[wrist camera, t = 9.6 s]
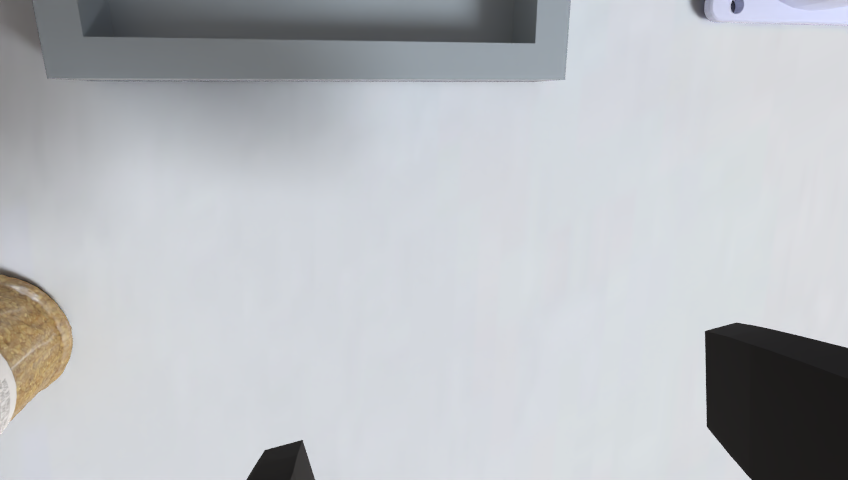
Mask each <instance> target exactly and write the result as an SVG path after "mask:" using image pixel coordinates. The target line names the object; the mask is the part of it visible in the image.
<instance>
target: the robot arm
mask: <svg viewBox="0 0 848 480" xmlns="http://www.w3.org/2000/svg"><path fill="white" fill-rule="evenodd" d="M732 1H734V2H735V7H736V8H735V11H734V12H733V13H732V11H731V7H730V5H731V3H732ZM704 13H705V15H706V18H707V19H708V20H710V21H712V22H719V23H760V24H802V25H844V26H848V0H705V5H704ZM705 349H706V402H707V427H708V429H709V430H710V431H711V432H712V433H713V435H714V436H715V437H716V438H717V440H718V441H719V442H720V443H721V445H722V446H723V447H724V448H725V450H726V451H727V452H728V453H729V454H730V456H731V457H732V458H733V459H734V460H735V461H736V462H737V464H738V465H739V466H740V467H741V468H742V469H743V471H744V472H745V473H746V474H747V475H748V476H749V477H750V478H751V479H752V480H848V348H846V347H842V346H838V345H834V344H830V343H826V342H822V341H818V340H814V339H810V338H806V337H802V336H798V335H793V334H789V333H785V332H781V331H776V330H772V329H767V328H763V327H758V326H753V325H747V324H741V323H733V324H730V325H726V326H722V327H719V328H715V329H711V330H707V331H705ZM247 480H315V479H314V475H313V472H312V469H311V466H310V463H309V459H308V456H307V453H306V450H305V446H304V443H303V440H301V441H297V442H294V443H290V444H286V445H283V446H279V447H275V448H271V449H268V450H265V451H264V453H263V454H262V456H261V457H260V459H259V460H258V462H257V463H256V465H255V467H254V468H253V470H252V472H251V473H250V475H249V477H248V478H247Z"/></svg>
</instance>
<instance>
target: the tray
mask: <svg viewBox="0 0 848 480" xmlns="http://www.w3.org/2000/svg"><path fill="white" fill-rule="evenodd" d="M32 2H33V8H34V13H35V18H36V23H37V28H38V33H39V38H40V43H41V48H42V53H43V58H44V64H45V69H46V74H47V78H53V79H70V80H87V81H420V82H537V81H552V80H565V72H566V58H567V44H568V30H569V16H570V2H571V0H32Z"/></svg>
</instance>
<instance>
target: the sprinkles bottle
mask: <svg viewBox="0 0 848 480" xmlns="http://www.w3.org/2000/svg"><path fill="white" fill-rule="evenodd" d="M72 344H73V338H72V332H71V326H70V324H69V322H68V320H67V318H66V316H65V314H64V313H63V312H62V310H61V309H60V308H59V306H58V305H57V303H56V302H55V301H54V300H52V299H51V298H50V297H49V296H48V295H47V294H46V293H44V292H43V291H42V290H40V289H39V288H38V287H36V286H33V285H31V284H29V283H27V282H25V281H23V280H19V279H17V278H11V277H7V276H5V275H0V434H1V433H2V432H3V431H4V429H5V428H6V427H7V425H8V423H9V422H10V421H11V420H12V419H13V418H14V417H15V416H16V414H18V413H19V412H20V411H21V410H22V409H23V408H24V407H25V405H26V404H27V403H28V402H29V401H31V400H32V398H33V397H34V396H35V395H36V394H37V393H38V392H40V391H41V390H43V389H45V388H47V387H48V386H49V385H50V384H51V383H52V382H54V381H55V380H56V379H57V378H58V377H59V376H60V375H61V374H62V373H63V371H64V369H65V367H66V364H67V363H68V361H69V359H70V355H71V351H72Z"/></svg>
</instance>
